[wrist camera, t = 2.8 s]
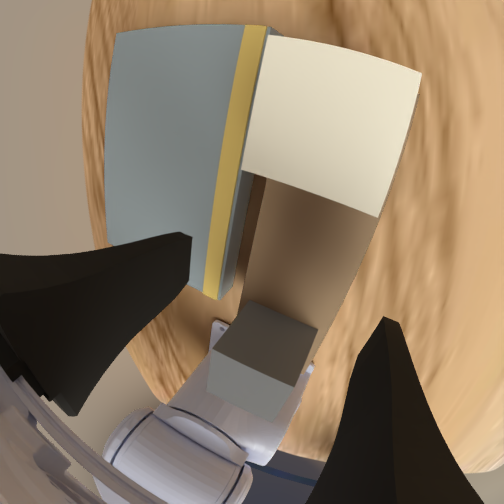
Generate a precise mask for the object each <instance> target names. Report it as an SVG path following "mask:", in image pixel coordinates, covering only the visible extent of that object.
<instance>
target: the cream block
mask: <svg viewBox="0 0 504 504" xmlns="http://www.w3.org/2000/svg"><path fill="white" fill-rule="evenodd" d="M421 76H422V73H420V72H417V71H415V70H412V69H410V68H407V67H404V66H401V65H399V64H396V63H393V62H390V61H387V60H384V59H381V58H378V57H375V56H371V55H368V54H364V53H361V52H357V51H353V50H350V49H346V48H342V47H337V46H333V45H328V44H324V43H319V42H314V41H308V40H302V39H296V38H290V37H282V36H274V35H268V37H267V42H266V46H265V51H264V56H263V60H262V65H261V70H260V75H259V80H258V84H257V89H256V94H255V99H254V104H253V109H252V114H251V119H250V124H249V130H248V135H247V140H246V145H245V151H244V156H243V161H242V167H241V170H244V171H248V172H251V173H254V174H257V175H261V176H264V177H267V178H270V179H273V180H276V181H279V182H282V183H285V184H288V185H291V186H294V187H297V188H300V189H303V190H306V191H308V192H311V193H314V194H317V195H320V196H322V197H325V198H328V199H330V200H333V201H336V202H339V203H341V204H344V205H346V206H349V207H352V208H354V209H357V210H359V211H362V212H364V213H367V214H369V215H372V216H374V217H377V218H378V216H379V213H380V211H381V208H382V206H383V203H384V200H385V198H386V195H387V192H388V189H389V186H390V184H391V181H392V178H393V175H394V172H395V169H396V166H397V163H398V160H399V157H400V154H401V151H402V147H403V144H404V141H405V138H406V134H407V131H408V127H409V124H410V120H411V116H412V113H413V109H414V105H415V101H416V97H417V93H418V89H419V85H420V80H421Z"/></svg>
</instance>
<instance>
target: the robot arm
mask: <svg viewBox="0 0 504 504" xmlns="http://www.w3.org/2000/svg"><path fill="white" fill-rule="evenodd" d="M192 238H193V237H191V236H189V235H187V234H184V233H182V232H180V231H179V232H172V233H167V234H163V235H159V236H154V237H150V238H146V239H142V240H138V241H134V242H130V243H126V244H122V245H117V246H113V247H108V248H104V249H99V250H94V251H88V252H81V253H73V254H62V255H49V256H22V255H9V254H0V504H241V503H242V502H243V500H244V499H245V497H246V495H247V493H248V491H249V489H250V486H251V484H252V479H253V476H252V473H251V467H250V466H249V465H247V464H245V461H249V462H253V463H256V464H258V465H262V466H265V465H266V464H267V463H268V462H269V460H270V459H271V458H272V456H273V455H274V453H275V451H276V450H277V448H278V446H279V445H280V443H281V441H282V439H283V437H284V435H285V433H286V431H287V429H288V427H289V425H290V423H291V421H292V418H293V416H294V414H295V413H296V411H297V409H298V407H299V405H300V403H301V401H302V395H303V392H304V390H305V387H306V385H307V382H308V380H309V377H310V375H311V373H312V371H313V369H314V364H313V363H312V362H311V363H310V365H309V366H308V368H307V370H306V372H305V373H304V375H303V374H300V376H299V378H298V381H297V383H296V385H295V387H294V389H293V391H292V392H291V394H290V396H289V397H288V399H287V401H286V402H285V404H284V405H283V407H282V409H281V410H280V412H279V413H278V415H277V416H276V418H275V419H274V421H273V422H272V423H271V422H269V421H267V420H264V419H262V418H260V417H258V416H255V415H253V414H251V413H249V412H247V411H245V410H243V409H241V408H238V407H236V406H234V405H232V404H230V403H228V402H226V401H224V400H222V399H221V398H219V397H217V396H215V395H213V394H211V393H209V392H207V391H206V388H207V380H208V373H209V366H210V358H211V351H212V348H213V347H214V345H215V344H216V343H217V341H218V340H219V339H220V338H221V336H222V335H223V334H224V332H225V331H226V330H227V329H228V327H229V326H230V325H228V324H226V323H224V322H222V321H220V320H215V321H214V322H213V324H212V330H211V338H210V345H209V353H208V354H207V355H206V356H205V358H204V359H203V360H202V362H201V363H200V364H199V365H198V367H197V368H196V369H195V370H194V372H193V373H192V374H191V375H190V377H189V378H188V379H187V380H186V382H185V383H184V384H183V385H182V387H181V388H180V389H179V390H178V392H177V393H176V394H175V395H174V396H173V398H172V399H171V400H170V401H169V403H168V404H167V405H166V404H164V403H161V404H160V405H159V406H158V407H157V408H156V410H154V409H153V408H151V407H145V408H139V409H136V410H134V411H133V412H131V413H130V414H129V415H128V416H127V417H125V418H124V419H123V420H122V421H121V423H120V424H119V425H118V426H117V427H116V428H115V430H114V431H113V432H112V434H111V435H110V437H109V438H108V440H107V442H106V444H105V446H104V449H103V454H102V456H100V455H98V454H97V453H96V452H95V451H93V449H91V448H90V447H89V446H88V445H87V444H86V443H85V442H83V441H82V440H81V439H80V438H79V437H78V436H77V435H76V434H75V433H74V432H73V431H72V430H70V429H69V428H68V427H67V426H66V425H65V424H64V423H63V422H62V421H61V420H60V419H59V418H58V417H57V416H56V415H55V414H54V413H53V412H52V410H50V408H49V407H48V406H47V405H46V404H45V403H44V402H43V400H42V399H41V398H40V397H41V396H42V395H44V396H45V397H46V398H47V400H48V401H52V400H53V401H54V402H55V403H56V404H57V405H58V406H59V407H60V408H61V409H62V410H63V411H64V412H65V413H66V414H67V415H68V416H77V415H78V413H79V412H80V410H81V408H82V406H83V404H84V403H85V401H86V400H87V398H88V396H89V395H90V393H91V391H92V390H93V389H94V387H95V386H96V384H97V383H98V381H99V380H100V378H101V377H102V375H103V374H104V373H105V371H106V370H107V369H108V367H109V366H110V364H111V363H112V362H113V361H114V359H115V358H116V357H117V356H118V354H119V353H120V352H121V351H122V350H123V349H124V347H125V346H126V345H127V344H128V343H129V342H130V340H131V339H132V338H133V337H134V336H135V335H136V334H137V333H138V332H140V331H141V330H142V329H143V328H144V327H145V326H146V325H147V324H148V323H149V322H150V321H151V320H152V319H154V318H155V317H156V316H157V315H158V314H159V313H160V312H161V311H162V310H163V309H164V308H165V307H166V306H168V305H169V304H170V303H171V302H172V301H173V300H174V299H175V298H176V296H177V295H178V294H179V293H180V292H181V290H182V289H183V288H184V287H185V285H186V284H187V283H188V281H189V276H190V262H191V249H192ZM37 421H38V422H39V423H40V424H41V425H42V426H43V428H44V429H45V430H46V431H47V432H48V433H49V434H50V435H51V436H52V437H53V438H54V439H55V440H56V441H57V442H58V444H59V445H60V446H61V447H62V448H63V449H65V450H66V451H67V452H68V453H69V454H70V455H71V456H72V457H73V458H74V459H75V460H76V461H77V462H78V463H80V464H81V465H82V466H83V467H84V468H85V469H86V470H87V471H89V472H90V473H91V474H92V475H93V479H94V481H95V484H96V486H97V489H98V491H99V493H100V495H101V497H102V499H103V500H102V499H101V498H99V497H98V496H97V495H95V494H94V493H93V492H91V491H90V490H89V489H87V488H86V487H85V486H84V485H83V484H82V483H80V482H79V481H78V480H77V479H75V478H74V477H73V476H72V475H71V474H70V473H69V472H68V471H66V469H68V467H69V466H70V465H71V462H70V461H69V460H68V459H67V458H66V457H65V456H64V455H63V454H62V453H61V452H60V450H59V449H58V448H57V447H55V446H54V444H52V443H51V442H50V441H49V440H48V439H47V438H46V437H45V436H44V435H43V434H42V433H41V432H40V431H39V430H38V429H37V427H36V424H37ZM305 504H484V503H483V501H482V500H481V498H480V497H479V495H478V494H477V493H476V491H475V490H474V489H473V487H472V486H471V484H470V483H469V482H468V480H467V479H466V477H465V475H464V474H463V472H462V470H461V469H460V467H459V466H458V464H457V462H456V461H455V459H454V457H453V455H452V454H451V452H450V450H449V448H448V446H447V444H446V442H445V440H444V438H443V436H442V434H441V432H440V430H439V428H438V426H437V424H436V421H435V419H434V417H433V415H432V412H431V410H430V408H429V405H428V403H427V400H426V398H425V395H424V392H423V390H422V387H421V385H420V382H419V379H418V376H417V374H416V371H415V368H414V365H413V362H412V359H411V356H410V353H409V350H408V347H407V344H406V341H405V338H404V335H403V332H402V329H401V327H400V324H399V322H396V321H394V320H391V319H389V318H386V317H384V316H383V318H382V319H381V321H380V322H379V324H378V326H377V327H376V329H375V330H374V332H373V333H372V335H371V337H370V338H369V340H368V341H367V343H366V344H365V346H364V347H363V349H362V350H361V351H360V353H359V354H358V357H357V360H356V363H355V366H354V369H353V372H352V375H351V378H350V382H349V387H348V391H347V396H346V400H345V404H344V409H343V413H342V417H341V421H340V425H339V429H338V433H337V436H336V439H335V442H334V445H333V448H332V450H331V452H330V455H329V457H328V460H327V462H326V464H325V467H324V469H323V471H322V473H321V475H320V477H319V479H318V481H317V483H316V485H315V487H314V489H313V491H312V493H311V495H310V496H309V498H308V500H307V502H306V503H305Z"/></svg>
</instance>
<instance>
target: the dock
mask: <svg viewBox="0 0 504 504" xmlns="http://www.w3.org/2000/svg"><path fill="white" fill-rule="evenodd" d="M268 35H274V36H282V37H283V35H282V34H280V33H279V32H277V31H276V30H275V29H273V28H272V27H267V26H261V25H246V24H245V25H231V24H200V25H179V26H166V27H156V28H147V29H140V30H133V31H127V32H121V33H117V34H116V40H115V45H114V51H113V57H112V64H111V71H110V79H109V88H108V98H107V110H106V125H105V152H104V184H105V211H106V226H107V239H108V243H110V244H112V245H114V246H117V245H122V244H126V243H130V242H134V241H138V240H142V239H146V238H150V237H154V236H159V235H163V234H167V233H172V232H179V231H180V232H182V233H184V234H187V235H189V236H191V237H193V238H192V249H191V262H190V276H189V281H188V283H187V285H189V286H191V287H193V288H195V289H197V290H199V291H201V292H203V294H204V295H206V296H208V297H210V298H212V299H214V300H217V299H218V300H221V299H222V298H223V296H224V295H225V294H226V293H227V292H228V291H229V290H230V289H231V288H232V286H233V281H234V276H235V271H236V266H237V260H238V255H239V250H240V245H241V240H242V234H243V229H244V224H245V219H246V214H247V209H248V204H249V199H250V194H251V189H252V184H253V179H254V173H251V172H248V171H244V170H241V167H242V161H243V156H244V151H245V145H246V140H247V135H248V130H249V124H250V119H251V114H252V109H253V104H254V99H255V94H256V89H257V84H258V80H259V75H260V70H261V65H262V60H263V56H264V51H265V46H266V42H267V37H268Z"/></svg>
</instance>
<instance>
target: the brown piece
mask: <svg viewBox="0 0 504 504" xmlns="http://www.w3.org/2000/svg"><path fill="white" fill-rule="evenodd" d="M419 95H420V94H417V97H416V101H415V105H414V109H413V113H412V116H411V120H410V124H409V127H408V131H407V134H406V138H405V141H404V144H403V147H402V151H401V154H400V157H399V160H398V163H397V166H396V169H395V172H394V175H393V178H392V181H391V184H390V186H389V189H388V192H387V195H386V198H385V200H384V203H383V206H382V208H381V211H380V213H379V216H378V218H377V217H374V216H372V215H369V214H367V213H364V212H362V211H359V210H357V209H354V208H352V207H349V206H346V205H344V204H341V203H339V202H336V201H333V200H330V199H328V198H325V197H322V196H320V195H317V194H314V193H311V192H308V191H306V190H303V189H300V188H297V187H294V186H291V185H288V184H285V183H282V182H279V181H276V180H273V179H270V178H267V181H266V186H265V190H264V195H263V199H262V204H261V208H260V213H259V217H258V222H257V227H256V231H255V236H254V240H253V245H252V249H251V254H250V259H249V263H248V268H247V272H246V277H245V281H244V286H243V291H242V295H241V300H240V304H239V309H238V314H239V313H240V312H241V310H242V309H243V308H244V306H245V305H246V304H247V302H248V301H249V300H251V301H253V302H256V303H258V304H260V305H262V306H265V307H267V308H269V309H271V310H274V311H276V312H278V313H280V314H283V315H285V316H287V317H290V318H292V319H294V320H297V321H299V322H301V323H304V324H306V325H309V326H311V327H313V328H316V329H318V332H317V334H316V337H315V339H314V342H313V344H312V347H311V349H310V352H309V354H308V357H307V359H306V362H305V364H304V367H303V369H302V371H301V374H303V375H304V373H305V372H306V370H307V368H308V366H309V365H310V363H311V361H312V359H313V358H314V356H315V354H316V352H317V351H318V349H319V347H320V345H321V343H322V341H323V340H324V338H325V336H326V334H327V332H328V330H329V328H330V326H331V325H332V323H333V321H334V319H335V317H336V315H337V313H338V311H339V309H340V307H341V305H342V303H343V301H344V299H345V297H346V295H347V293H348V291H349V288H350V286H351V284H352V282H353V280H354V278H355V276H356V273H357V271H358V269H359V267H360V265H361V262H362V260H363V258H364V256H365V253H366V251H367V249H368V246H369V244H370V242H371V239H372V237H373V234H374V232H375V229H376V227H377V225H378V222H379V219H380V217H381V214H382V212H383V209H384V207H385V204H386V201H387V199H388V196H389V193H390V190H391V188H392V185H393V182H394V179H395V176H396V173H397V170H398V167H399V164H400V161H401V158H402V155H403V152H404V149H405V146H406V142H407V139H408V136H409V132H410V129H411V125H412V122H413V118H414V114H415V111H416V107H417V103H418V99H419ZM238 314H237V316H238Z"/></svg>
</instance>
